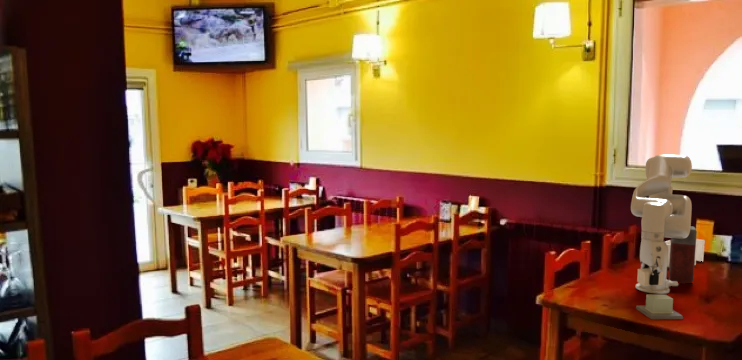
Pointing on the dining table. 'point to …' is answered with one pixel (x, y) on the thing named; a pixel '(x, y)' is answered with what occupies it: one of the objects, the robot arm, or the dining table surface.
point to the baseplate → (659, 314)
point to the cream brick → (647, 276)
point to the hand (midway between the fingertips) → (649, 281)
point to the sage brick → (659, 303)
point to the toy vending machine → (683, 258)
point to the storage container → (698, 251)
